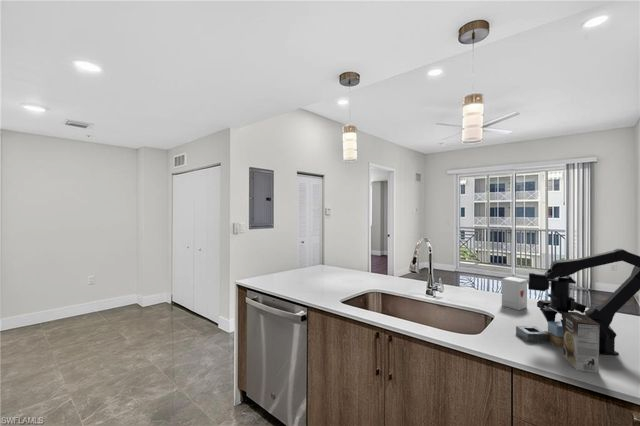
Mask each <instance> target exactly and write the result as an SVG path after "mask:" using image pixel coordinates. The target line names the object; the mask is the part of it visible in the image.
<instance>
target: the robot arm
mask: <svg viewBox="0 0 640 426" xmlns="http://www.w3.org/2000/svg"><path fill="white" fill-rule="evenodd" d="M618 262H625V263H627V264H629V265H631V266H633V269H632V271H631V273H630V275H629V277H628V278H626V280H625V281H624V282H622V284H620V285H619V287H618V288H617V289H615V290H614V291H613V293H612V294H611V295H609V297H607V299H605V300H604V301H603V302H602V304H600V305H597V306H595V305H594V304H591V305H590V306H589V307H588V309H587V305H584V304H582V303H580V302H577V301H576V300H575V298H573V296H572V297H571V296H570V284H575V285H576V284H577V282H576V280H574V279H573V278H572V276H571V275H574V274H576V273H578V272H580V271H582V270H586V269H591V268H595V267H599V266H605V265H608V264H613V263H618ZM549 289H550V293H548V294H547V297H548V298H550V300H547V299H546V300H545V299H544V300H543V299H539V300H538V301H537V302H536V307H537V308H539V310H540V311H541V313H542V315H543V317H544V319H545V321H546V322H547V323H548V321H555V322H556V315H557V314H560V315H561V318H562V319H560V322H561V323H562V326H563V330H564V314H563V313H575V314H584V315H586V316H587V317H589V318H591V319H592V320H594V321H595V322H597V323H599V355H614V356H615V355H620V353H619V352H618V351H616V350H615V341H616V340H615V339H616V337H617V333H616V332H615V331H614V329H613V328H612V327H611V326H610V325H611V324H612V322H613V319H614V317H615V315H616V313H617V312H619V310H620V309H622V307H624V306H625V305H626V304H627V303H628V302H629V301H630V300H631V299H632V298H633V297H634V296H635V295H636V294H637V293H638V292H639V291H640V255H637V254H635V253H632V252H629V251H627V250H625V249H623V248H616V249H613V250H610V251H606V252H601V253H597V254H596V253H595V254H592V255H588V256H585V257H580V258H571V259H569V258H567V259H557V260H553V261H552V262H551V263H550V266H549V269H547V271H546V272H545V273H542V274H541V273H535V272H529V273H528V279H527V291H528V290H530V291H536V292H537V291H538V292H546V291H548V290H549ZM586 309H587V310H586Z"/></svg>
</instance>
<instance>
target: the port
mask: <svg viewBox="0 0 640 426" xmlns="http://www.w3.org/2000/svg"><path fill="white" fill-rule="evenodd" d="M544 331H545V330H543V329H541V328H539V327H538V326H535V325H516V326H515V335H517V336H519V337H520V338H522V340H524V341H526V342H527V343H550V342H549V334H548V333H546V332H544Z"/></svg>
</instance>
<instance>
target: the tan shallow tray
mask: <svg viewBox="0 0 640 426" xmlns="http://www.w3.org/2000/svg"><path fill="white" fill-rule="evenodd" d="M543 331H544V332H546V333H548V334H549V343H550V344H552V345H553V346H555V347H558V348H559V347H560V348H564V345H563V344H564V343H563V342H564V337H557V336H555V335H553V334H552V333H550V332H548V330H543Z"/></svg>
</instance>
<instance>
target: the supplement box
mask: <svg viewBox="0 0 640 426" xmlns="http://www.w3.org/2000/svg"><path fill="white" fill-rule="evenodd" d="M501 307H505V308H510V309H513V310H517V311H520V310H523V309H526V308H528V279H527V278H525V279H524V278H520V277H514V276H508V277H504V278H502V279H501Z"/></svg>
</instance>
